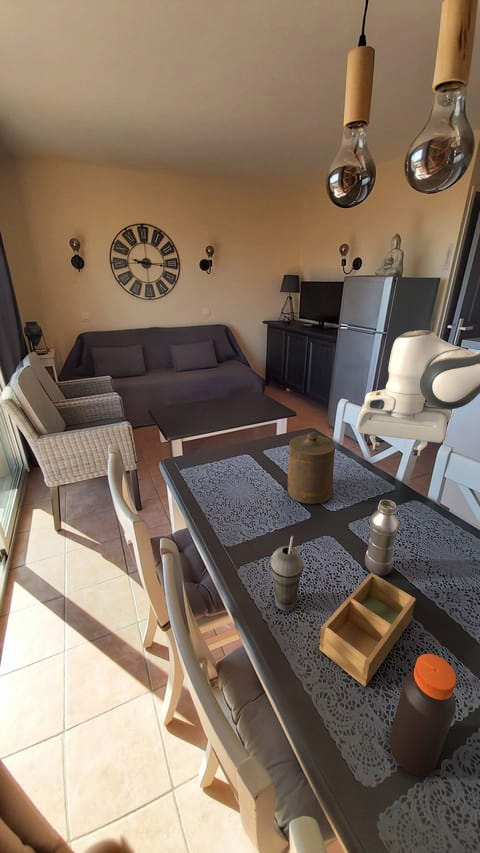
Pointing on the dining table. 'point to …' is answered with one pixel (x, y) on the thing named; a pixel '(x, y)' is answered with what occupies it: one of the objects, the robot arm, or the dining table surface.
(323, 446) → the wooden container
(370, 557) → the silver metal bottle
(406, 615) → the divided wooden box
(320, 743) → the dining table surface
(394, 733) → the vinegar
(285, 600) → the beverage cup
